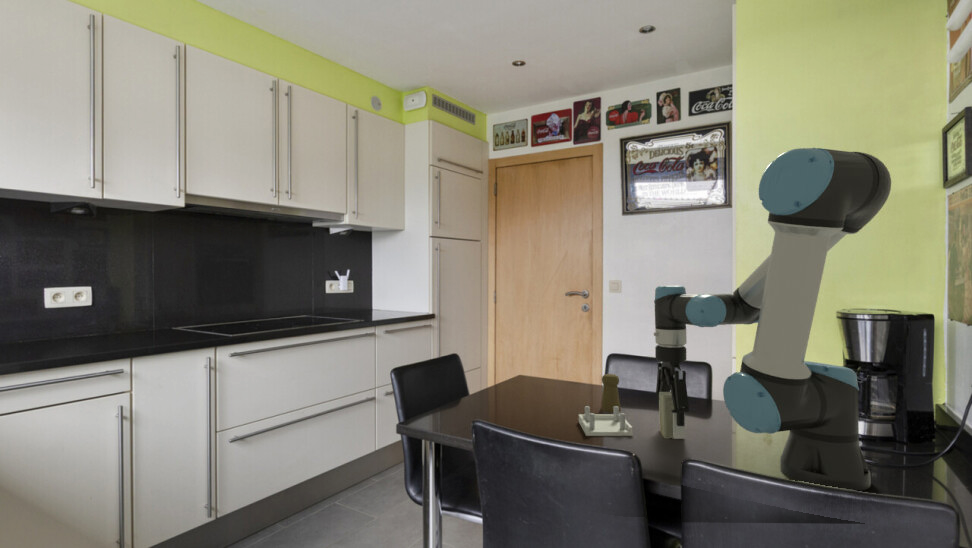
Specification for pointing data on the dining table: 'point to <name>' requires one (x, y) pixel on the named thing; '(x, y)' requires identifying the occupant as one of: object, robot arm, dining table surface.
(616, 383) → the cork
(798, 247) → the robot arm
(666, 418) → the box
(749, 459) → the dining table surface
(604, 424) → the tray
